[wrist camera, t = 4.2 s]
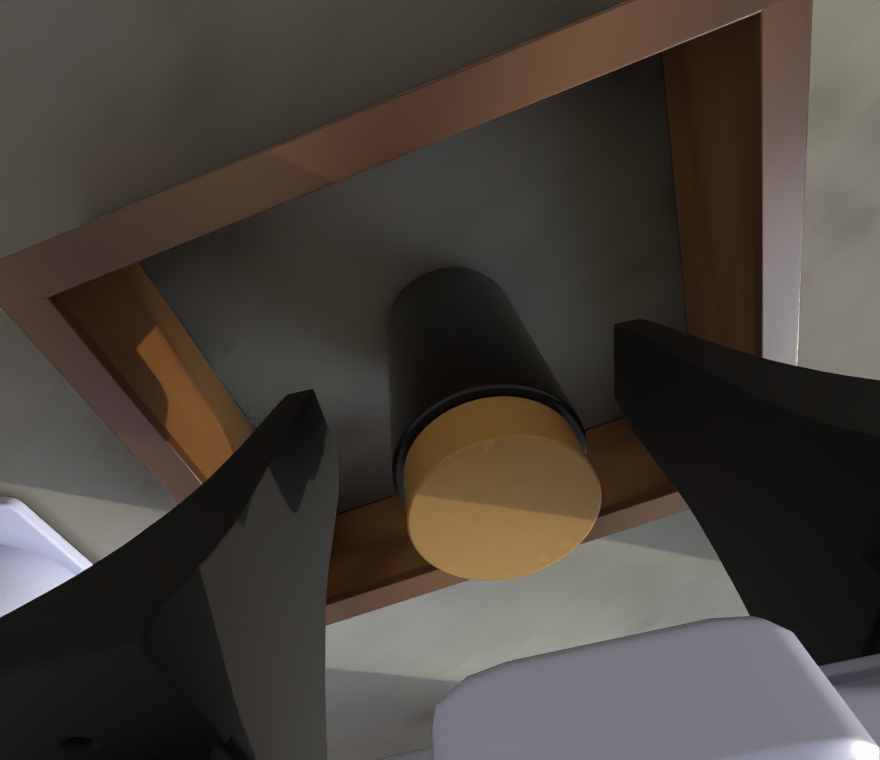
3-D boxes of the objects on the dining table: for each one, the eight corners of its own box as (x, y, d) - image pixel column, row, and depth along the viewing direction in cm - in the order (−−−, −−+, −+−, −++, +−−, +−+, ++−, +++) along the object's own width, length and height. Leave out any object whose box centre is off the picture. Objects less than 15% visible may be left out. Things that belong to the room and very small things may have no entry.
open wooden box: (309, 541, 19) (295, 636, 16) (74, 222, 13) (-31, 272, 9) (716, 403, 18) (792, 476, 14) (690, -32, 11) (817, -77, 8)
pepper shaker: (414, 398, 16) (437, 611, 10) (366, 294, 14) (356, 474, 8) (526, 358, 16) (628, 550, 9) (493, 247, 14) (593, 392, 7)
